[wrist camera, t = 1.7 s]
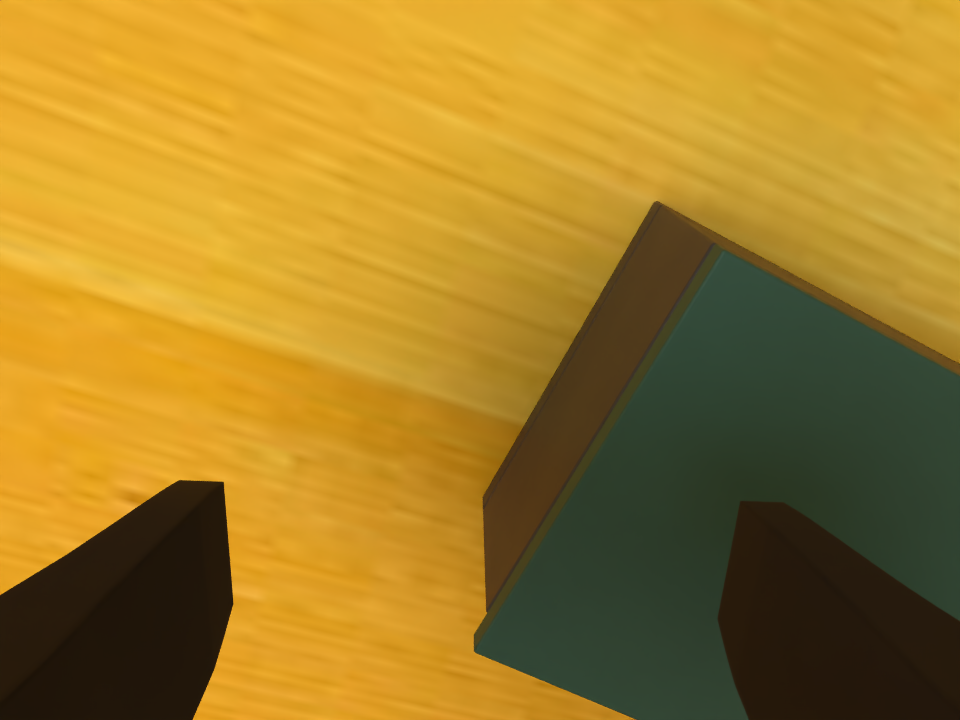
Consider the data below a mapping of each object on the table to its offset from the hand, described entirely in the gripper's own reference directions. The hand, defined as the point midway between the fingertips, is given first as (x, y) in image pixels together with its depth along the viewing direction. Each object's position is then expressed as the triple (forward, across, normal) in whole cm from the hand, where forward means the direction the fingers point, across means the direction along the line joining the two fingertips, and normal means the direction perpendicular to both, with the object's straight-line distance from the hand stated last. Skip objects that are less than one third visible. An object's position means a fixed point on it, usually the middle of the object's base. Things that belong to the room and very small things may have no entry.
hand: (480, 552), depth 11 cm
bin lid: (+5, -9, +4) cm, 11 cm away
